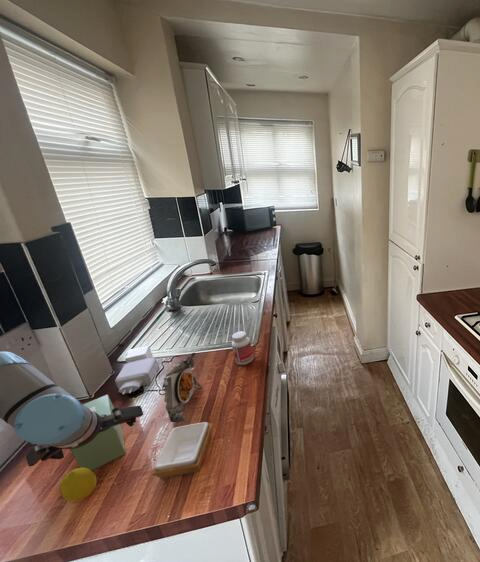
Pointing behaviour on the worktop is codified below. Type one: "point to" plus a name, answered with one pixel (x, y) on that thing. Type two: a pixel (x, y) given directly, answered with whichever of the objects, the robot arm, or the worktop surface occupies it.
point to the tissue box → (101, 440)
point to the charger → (136, 375)
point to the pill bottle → (242, 348)
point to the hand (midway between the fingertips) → (97, 436)
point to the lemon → (78, 484)
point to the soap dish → (183, 450)
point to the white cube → (138, 354)
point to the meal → (179, 388)
